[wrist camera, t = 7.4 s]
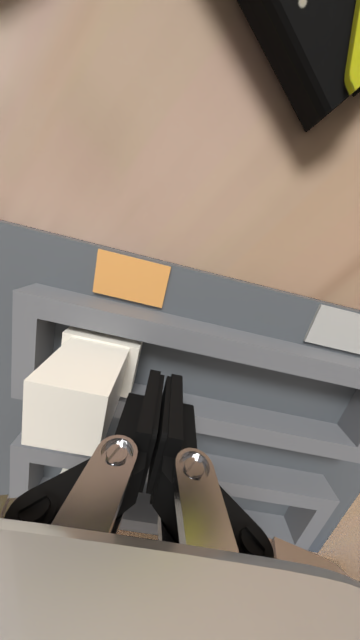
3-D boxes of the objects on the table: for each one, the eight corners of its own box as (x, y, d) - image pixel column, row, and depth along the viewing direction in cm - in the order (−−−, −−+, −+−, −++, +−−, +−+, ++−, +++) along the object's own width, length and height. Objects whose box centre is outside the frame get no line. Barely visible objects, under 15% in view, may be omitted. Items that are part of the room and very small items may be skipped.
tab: (144, 335, 14) (122, 397, 8) (134, 380, 15) (109, 461, 9) (76, 320, 14) (9, 375, 8) (71, 367, 15) (8, 444, 9)
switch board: (446, 332, 16) (510, 353, 13) (310, 536, 23) (331, 582, 20) (-19, 214, 13) (-77, 207, 10) (-12, 486, 20) (-46, 530, 17)
